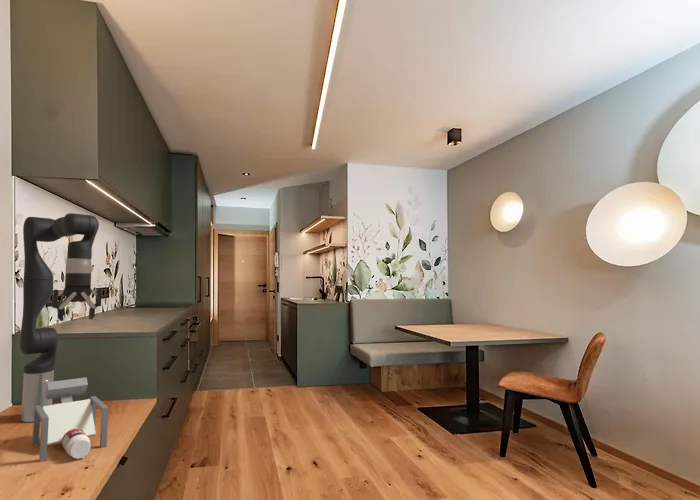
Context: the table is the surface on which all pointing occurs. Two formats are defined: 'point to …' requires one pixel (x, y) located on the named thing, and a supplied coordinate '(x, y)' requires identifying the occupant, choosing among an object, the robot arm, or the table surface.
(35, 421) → the stand
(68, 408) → the trapdoor
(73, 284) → the robot arm
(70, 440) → the pill bottle
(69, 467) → the table surface
